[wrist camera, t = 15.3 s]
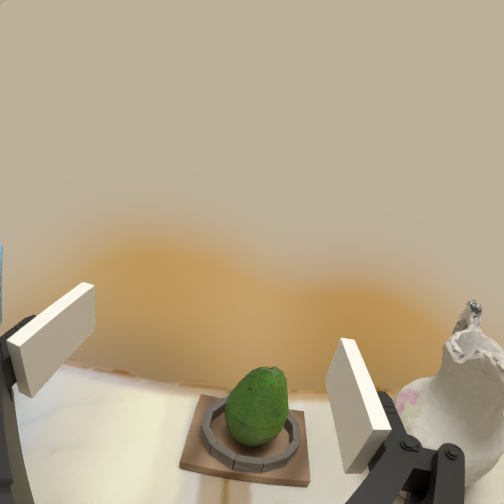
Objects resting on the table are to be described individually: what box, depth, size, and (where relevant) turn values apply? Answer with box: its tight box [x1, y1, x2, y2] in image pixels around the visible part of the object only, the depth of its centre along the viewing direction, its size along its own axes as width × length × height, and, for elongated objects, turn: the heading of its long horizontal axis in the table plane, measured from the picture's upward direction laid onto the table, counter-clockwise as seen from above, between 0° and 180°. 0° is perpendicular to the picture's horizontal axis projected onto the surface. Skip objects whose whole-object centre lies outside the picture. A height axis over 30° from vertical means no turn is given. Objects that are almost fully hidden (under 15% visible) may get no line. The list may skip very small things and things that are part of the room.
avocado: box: [224, 367, 289, 446], centre depth 37 cm, size 8×8×12 cm
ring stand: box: [180, 394, 310, 487], centre depth 39 cm, size 16×14×4 cm
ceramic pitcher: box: [393, 299, 504, 498], centre depth 33 cm, size 22×20×25 cm
